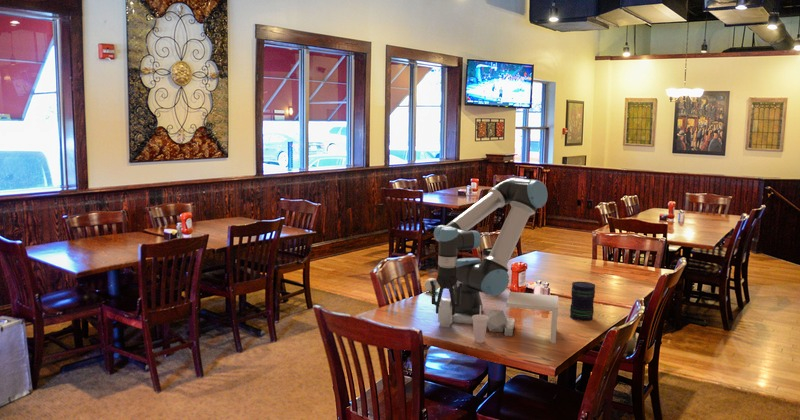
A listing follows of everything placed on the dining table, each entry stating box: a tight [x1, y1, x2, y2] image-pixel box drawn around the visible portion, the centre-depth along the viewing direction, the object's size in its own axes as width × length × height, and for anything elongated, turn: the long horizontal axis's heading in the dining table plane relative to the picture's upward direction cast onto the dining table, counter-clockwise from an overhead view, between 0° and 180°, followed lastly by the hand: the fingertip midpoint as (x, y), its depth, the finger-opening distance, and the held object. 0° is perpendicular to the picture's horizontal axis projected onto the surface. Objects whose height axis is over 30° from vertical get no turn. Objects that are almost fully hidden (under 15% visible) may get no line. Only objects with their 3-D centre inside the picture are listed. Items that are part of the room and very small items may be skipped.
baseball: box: [423, 277, 440, 293], centre depth 332 cm, size 7×7×7 cm
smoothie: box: [472, 305, 489, 344], centre depth 261 cm, size 6×6×14 cm
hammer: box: [439, 297, 515, 337], centre depth 278 cm, size 30×14×11 cm, turn 77°
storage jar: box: [569, 281, 596, 322], centre depth 296 cm, size 10×10×15 cm
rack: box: [505, 291, 559, 344], centre depth 273 cm, size 20×18×14 cm
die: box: [486, 309, 507, 333], centre depth 275 cm, size 8×9×10 cm
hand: (445, 321), depth 280 cm, fingers closed on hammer, 4 cm apart
